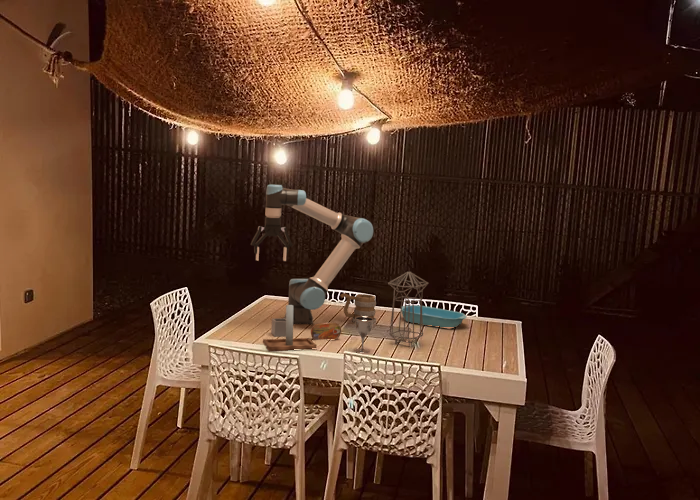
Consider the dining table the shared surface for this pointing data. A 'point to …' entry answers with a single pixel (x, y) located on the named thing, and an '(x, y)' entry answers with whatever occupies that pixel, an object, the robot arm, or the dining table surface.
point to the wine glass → (363, 330)
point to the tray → (297, 344)
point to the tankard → (360, 306)
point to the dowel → (289, 325)
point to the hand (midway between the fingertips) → (270, 260)
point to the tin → (325, 331)
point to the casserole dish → (434, 316)
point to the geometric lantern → (409, 305)
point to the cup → (278, 327)
